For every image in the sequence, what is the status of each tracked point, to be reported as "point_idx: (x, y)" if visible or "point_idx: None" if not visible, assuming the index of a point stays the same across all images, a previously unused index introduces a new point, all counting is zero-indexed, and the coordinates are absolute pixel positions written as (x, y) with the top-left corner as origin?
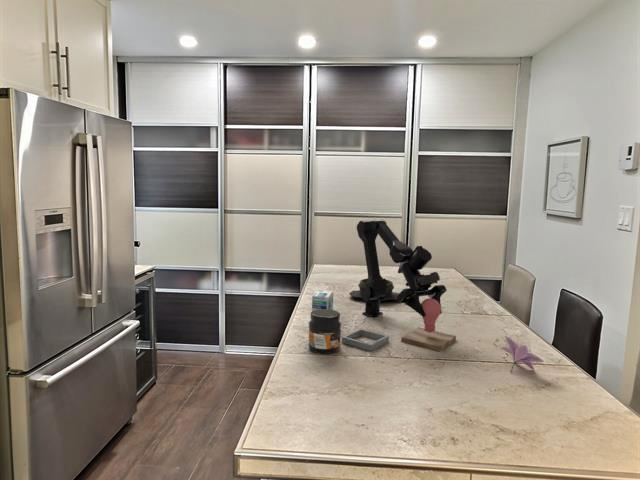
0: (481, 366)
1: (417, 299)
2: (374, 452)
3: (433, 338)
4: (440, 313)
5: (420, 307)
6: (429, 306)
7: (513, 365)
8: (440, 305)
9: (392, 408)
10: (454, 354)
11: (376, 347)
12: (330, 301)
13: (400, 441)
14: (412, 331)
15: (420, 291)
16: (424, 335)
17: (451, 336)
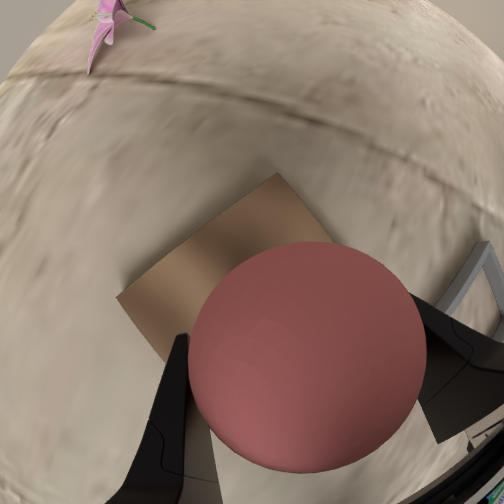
0: (201, 56)
1: (500, 356)
2: (444, 14)
3: None
4: (189, 336)
5: (439, 313)
6: (390, 271)
7: (142, 20)
8: (159, 399)
9: (438, 37)
10: (229, 141)
11: (465, 263)
12: (491, 497)
13: (426, 7)
14: None
15: (469, 502)
16: None
17: (141, 295)
